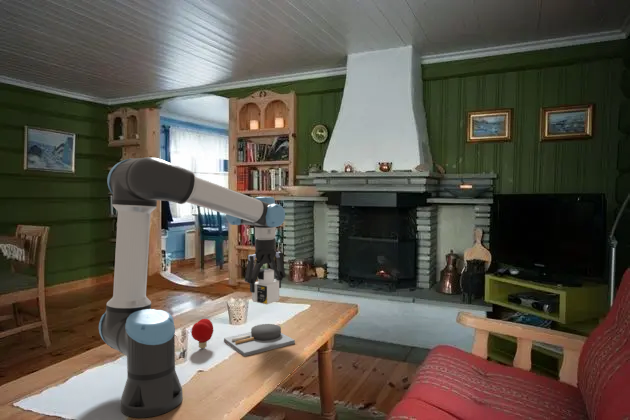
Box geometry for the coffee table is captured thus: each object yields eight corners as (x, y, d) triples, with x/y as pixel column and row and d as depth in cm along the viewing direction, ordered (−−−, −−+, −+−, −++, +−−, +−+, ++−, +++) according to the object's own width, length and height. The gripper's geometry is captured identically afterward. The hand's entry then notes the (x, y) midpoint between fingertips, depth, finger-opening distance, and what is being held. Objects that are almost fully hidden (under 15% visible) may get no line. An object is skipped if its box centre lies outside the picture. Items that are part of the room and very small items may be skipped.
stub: (259, 342, 149) (259, 335, 149) (246, 334, 158) (246, 327, 158) (286, 336, 155) (286, 329, 155) (271, 328, 164) (271, 322, 164)
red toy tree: (205, 354, 141) (205, 325, 141) (186, 353, 143) (186, 324, 142) (217, 344, 150) (217, 317, 150) (199, 343, 152) (199, 316, 151)
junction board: (244, 356, 140) (244, 349, 140) (224, 341, 154) (223, 335, 154) (294, 343, 151) (294, 337, 151) (271, 330, 165) (271, 324, 165)
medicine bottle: (252, 301, 155) (252, 269, 154) (265, 297, 161) (265, 266, 160) (266, 304, 151) (266, 271, 150) (279, 300, 157) (279, 268, 156)
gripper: (243, 241, 145) (244, 305, 146) (295, 237, 158) (295, 296, 159) (234, 239, 151) (235, 301, 153) (284, 235, 164) (285, 292, 165)
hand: (265, 298), depth 156 cm, fingers closed on medicine bottle, 9 cm apart
